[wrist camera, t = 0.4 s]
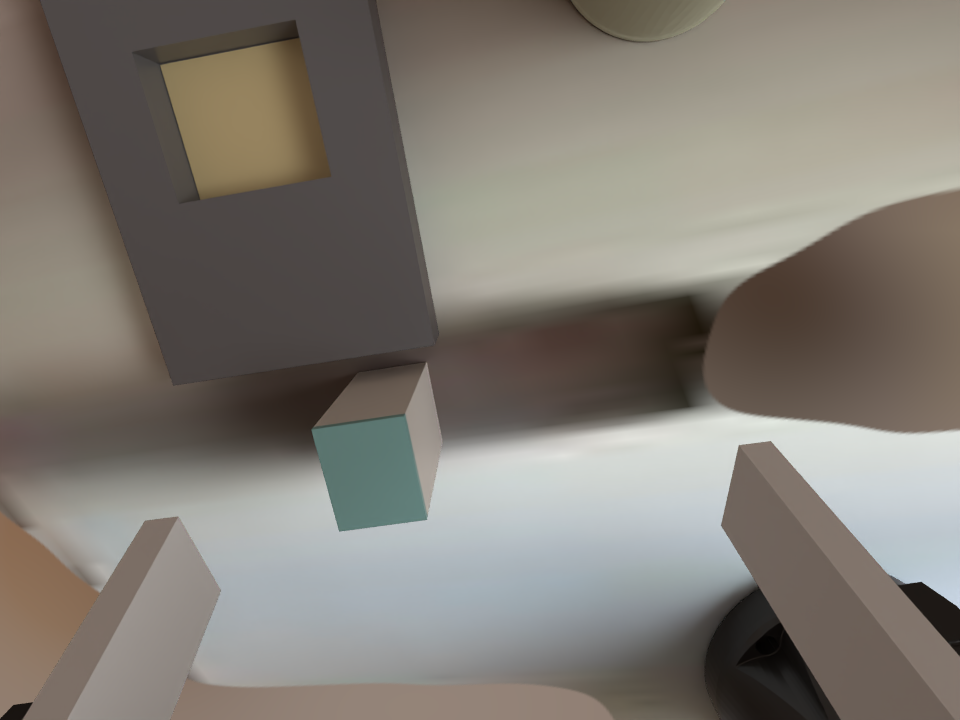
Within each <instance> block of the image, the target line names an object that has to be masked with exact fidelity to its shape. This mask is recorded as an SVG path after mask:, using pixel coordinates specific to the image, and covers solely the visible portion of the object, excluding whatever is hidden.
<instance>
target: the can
mask: <svg viewBox="0 0 960 720" xmlns="http://www.w3.org/2000/svg"><path fill="white" fill-rule="evenodd" d="M724 1H725V0H571V2H572V3H573V5H574V6H575V7H576V8H577V10H578V11H579V12H580V13H581V14H582V15H583V16H584V17H585V18H586V19H587V20H588V21H589V22H591V23H592V24H593V25H594V26H596V27H597V28H599V29H601V30H602V31H604V32H606V33H608V34H610V35H612V36H615V37H618V38H621V39H625V40H630V41H638V42H652V41H659V40H664V39H668V38H672V37H675V36H677V35H680V34H682V33H684V32H686V31H688V30H690V29H692V28H694V27H695V26H697V25H699V24H700V23H702V22H703V21H704V20H706V19H707V18H708V17H709V16H710V15H712V14H713V13H714V12H715V11H716V10H717V9H718V8H719V7H720V6H721V5H722V4H723V3H724Z"/></svg>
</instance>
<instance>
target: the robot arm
mask: <svg viewBox="0 0 960 720" xmlns="http://www.w3.org/2000/svg"><path fill="white" fill-rule="evenodd" d="M721 526H722V528H723V529H724V531H725V532H726V534H727V536H728V537H729V539H730V541H731V542H732V544H733V545H734V547H735V549H736V550H737V552H738V554H739V555H740V557H741V558H742V560H743V562H744V563H745V565H746V567H747V568H748V570H749V571H750V573H751V575H752V576H753V578H754V580H755V581H756V583H757V584H758V586H759V588H760V589H758V590H757V591H755V592H753V593H752V594H751V595H749V596H748V597H746V598H745V599H744V600H743V601H742V602H740V603H739V604H738V605H737V606H736V607H735V608H734V609H733V610H732V611H731V612H730V613H729V614H728V615H727V617H726V618H725V619H724V620H723V622H722V623H721V624H720V626H719V627H718V629H717V631H716V632H715V634H714V636H713V638H712V640H711V643H710V645H709V648H708V652H707V655H706V661H705V682H706V687H707V690H708V694H709V696H710V698H711V701H712V703H713V705H714V707H715V709H716V712H717V714H718V716H719V718H720V720H960V609H959V608H958V607H957V606H956V605H954V604H953V603H951V602H950V601H948V600H947V599H945V598H944V597H943V596H941V595H940V594H938V593H937V592H935V591H934V590H932V589H931V588H929V587H928V586H927V585H925V584H924V583H922V582H918V583H910V584H905V583H903V582H901V581H900V580H898V579H896V578H894V577H892V576H889V575H888V574H887V573H886V572H885V571H884V570H883V568H882V567H881V566H880V565H879V564H878V563H877V562H876V561H875V559H874V558H873V557H872V556H871V555H870V554H869V553H868V551H867V550H866V549H865V548H864V547H863V546H862V545H861V543H860V542H859V541H858V540H857V539H856V538H855V537H854V535H853V534H852V533H851V532H850V531H849V530H848V529H847V527H846V526H845V525H844V524H843V523H842V522H841V521H840V520H839V518H838V517H837V516H836V515H835V514H834V513H833V512H832V510H831V509H830V508H829V507H828V506H827V505H826V504H825V502H824V501H823V500H822V499H821V498H820V497H819V496H818V494H817V493H816V492H815V491H814V490H813V489H812V488H811V487H810V485H809V484H808V483H807V482H806V481H805V480H804V479H803V477H802V476H801V475H800V474H799V473H798V472H797V471H796V469H795V468H794V467H793V466H792V465H791V464H790V463H789V461H788V460H787V459H786V458H785V457H784V456H783V455H782V453H781V452H780V451H779V450H778V449H777V448H776V447H775V446H774V444H773V443H772V442H771V441H769V442H761V443H753V444H745V445H739V447H738V452H737V456H736V461H735V465H734V470H733V474H732V479H731V483H730V488H729V492H728V497H727V501H726V506H725V510H724V515H723V519H722V524H721ZM220 592H221V590H220V588H219V586H218V584H217V583H216V581H215V579H214V577H213V576H212V574H211V572H210V570H209V569H208V567H207V565H206V563H205V562H204V560H203V558H202V556H201V555H200V553H199V551H198V550H197V548H196V546H195V544H194V543H193V541H192V539H191V537H190V536H189V534H188V532H187V530H186V529H185V527H184V525H183V523H182V522H181V520H180V518H179V517H171V518H163V519H155V520H147V521H145V522H144V523H143V525H142V527H141V528H140V530H139V531H138V533H137V535H136V536H135V538H134V540H133V541H132V543H131V544H130V546H129V548H128V549H127V551H126V552H125V554H124V556H123V557H122V559H121V561H120V562H119V564H118V565H117V567H116V569H115V570H114V572H113V574H112V575H111V577H110V578H109V580H108V582H107V583H106V585H105V587H104V588H103V590H102V591H101V593H100V595H99V597H98V598H97V600H96V601H95V603H94V604H93V606H92V608H91V609H90V611H89V613H88V614H87V616H86V618H85V619H84V621H83V623H82V624H81V626H80V627H79V629H78V630H77V632H76V634H75V635H74V637H73V639H72V640H71V642H70V643H69V645H68V647H67V649H66V650H65V652H64V653H63V655H62V657H61V658H60V660H59V661H58V663H57V665H56V666H55V668H54V670H53V671H52V673H51V674H50V676H49V678H48V679H47V681H46V683H45V684H44V686H43V687H42V689H41V690H40V692H39V694H38V695H37V697H36V699H35V700H34V702H32V703H25V704H17V705H13V706H12V707H11V708H10V709H9V710H8V711H7V712H6V713H5V714H4V715H3V717H1V719H0V720H170V719H171V716H172V714H173V712H174V709H175V706H176V704H177V701H178V699H179V696H180V694H181V691H182V689H183V686H184V684H185V681H186V679H187V676H188V673H189V671H190V668H191V666H192V663H193V661H194V658H195V656H196V653H197V651H198V648H199V645H200V643H201V640H202V638H203V635H204V633H205V630H206V628H207V625H208V623H209V620H210V618H211V615H212V612H213V610H214V607H215V605H216V602H217V600H218V597H219V595H220Z"/></svg>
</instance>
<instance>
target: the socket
mask: <svg viewBox="0 0 960 720" xmlns="http://www.w3.org/2000/svg"><path fill="white" fill-rule="evenodd" d="M40 2H41V5H42V8H43V11H44V13H45V16H46V19H47V22H48V25H49V28H50V31H51V34H52V37H53V39H54V42H55V45H56V48H57V51H58V54H59V57H60V60H61V63H62V65H63V68H64V71H65V74H66V77H67V80H68V83H69V86H70V89H71V91H72V94H73V97H74V100H75V103H76V106H77V109H78V112H79V114H80V117H81V120H82V123H83V126H84V129H85V132H86V135H87V138H88V140H89V143H90V146H91V149H92V152H93V155H94V158H95V161H96V164H97V166H98V169H99V172H100V175H101V178H102V181H103V184H104V187H105V189H106V192H107V195H108V198H109V201H110V204H111V207H112V210H113V213H114V215H115V218H116V221H117V224H118V227H119V230H120V233H121V236H122V239H123V241H124V244H125V247H126V250H127V253H128V256H129V259H130V262H131V264H132V267H133V270H134V273H135V276H136V279H137V282H138V285H139V288H140V290H141V293H142V296H143V299H144V302H145V305H146V308H147V311H148V314H149V316H150V319H151V322H152V325H153V328H154V331H155V334H156V337H157V339H158V342H159V345H160V348H161V351H162V354H163V357H164V360H165V363H166V365H167V368H168V371H169V374H170V377H171V380H172V383H173V386H174V385H181V384H187V383H194V382H200V381H207V380H213V379H220V378H226V377H233V376H239V375H246V374H252V373H258V372H265V371H271V370H278V369H284V368H291V367H297V366H304V365H310V364H317V363H323V362H330V361H336V360H343V359H349V358H355V357H362V356H368V355H375V354H381V353H388V352H394V351H401V350H407V349H414V348H420V347H427V346H433V345H435V343H436V340H437V338H438V335H439V331H438V326H437V321H436V315H435V310H434V305H433V300H432V294H431V289H430V284H429V279H428V273H427V268H426V263H425V258H424V252H423V247H422V242H421V237H420V231H419V226H418V221H417V215H416V210H415V205H414V200H413V194H412V189H411V184H410V179H409V173H408V168H407V163H406V158H405V152H404V147H403V142H402V137H401V131H400V126H399V121H398V115H397V110H396V105H395V100H394V94H393V89H392V84H391V79H390V73H389V68H388V63H387V58H386V52H385V47H384V42H383V37H382V31H381V26H380V21H379V15H378V10H377V5H376V0H40Z"/></svg>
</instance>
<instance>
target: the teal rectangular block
mask: <svg viewBox="0 0 960 720" xmlns="http://www.w3.org/2000/svg"><path fill="white" fill-rule="evenodd" d="M311 431H312V434H313V438H314V442H315V445H316V449H317V452H318V456H319V460H320V463H321V467H322V471H323V474H324V478H325V481H326V485H327V489H328V492H329V496H330V500H331V503H332V507H333V511H334V514H335V518H336V521H337V525H338V529H339V532H340V531H347V530H355V529H362V528H369V527H377V526H384V525H392V524H399V523H407V522H414V521H422V520H427V517H428V512H429V507H430V502H431V497H432V492H433V487H434V482H435V477H436V472H437V467H438V462H439V457H440V452H441V447H442V442H443V441H442V436H441V431H440V426H439V421H438V416H437V411H436V406H435V401H434V396H433V391H432V386H431V381H430V376H429V371H428V366H427V362H424V363H417V364H410V365H404V366H397V367H391V368H384V369H378V370H371V371H365V372H358V373H357V374H356V376H355V377H354V378H353V379H352V381H351V382H350V383H349V384H348V385H347V387H346V388H345V389H344V390H343V392H342V393H341V394H340V395H339V396H338V398H337V399H336V400H335V401H334V403H333V404H332V405H331V406H330V407H329V409H328V410H327V411H326V412H325V414H324V415H323V416H322V417H321V418H320V420H319V421H318V422H317V423H316V425H315V426H314V427H313V428H312V429H311Z"/></svg>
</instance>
